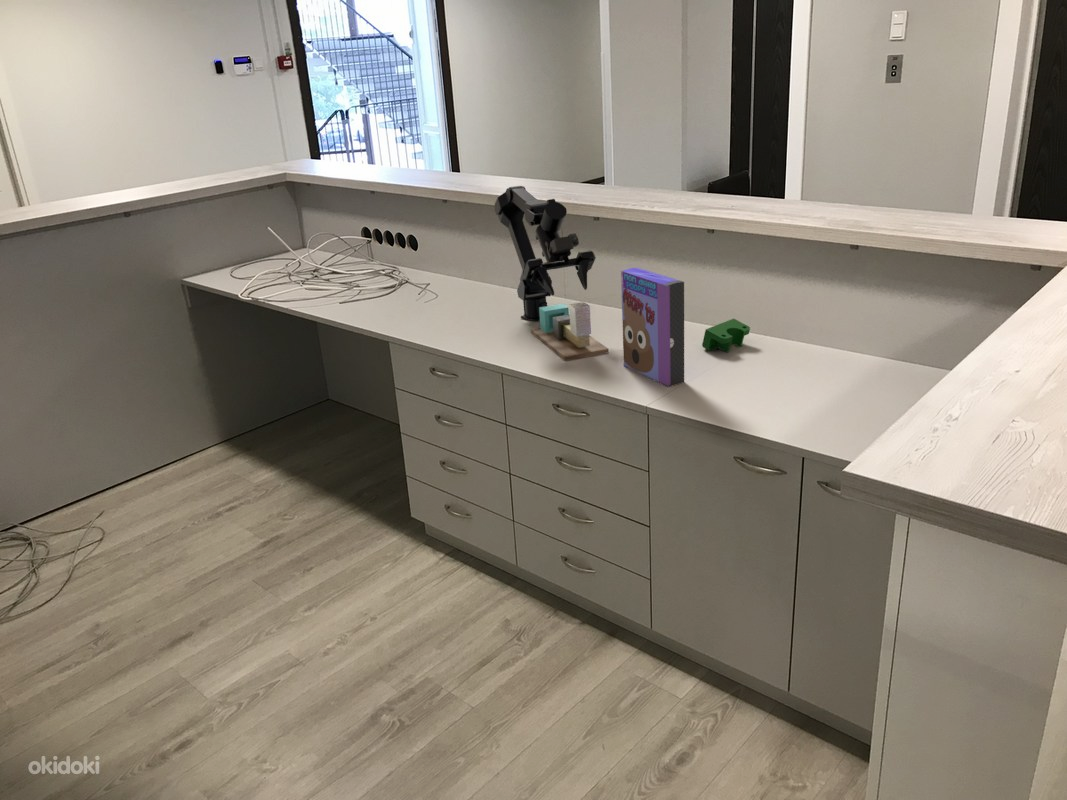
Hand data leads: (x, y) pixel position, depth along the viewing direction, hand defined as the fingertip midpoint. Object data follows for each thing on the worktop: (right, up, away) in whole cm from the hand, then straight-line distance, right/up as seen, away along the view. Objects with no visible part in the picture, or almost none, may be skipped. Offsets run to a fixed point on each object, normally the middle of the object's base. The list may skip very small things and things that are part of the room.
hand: (569, 291), depth 227 cm
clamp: (+39, -15, -5) cm, 43 cm away
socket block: (-3, -8, +15) cm, 17 cm away
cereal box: (+19, -22, -18) cm, 34 cm away
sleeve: (-1, -11, +8) cm, 14 cm away
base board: (0, -12, +7) cm, 14 cm away
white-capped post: (+1, -12, +3) cm, 12 cm away
